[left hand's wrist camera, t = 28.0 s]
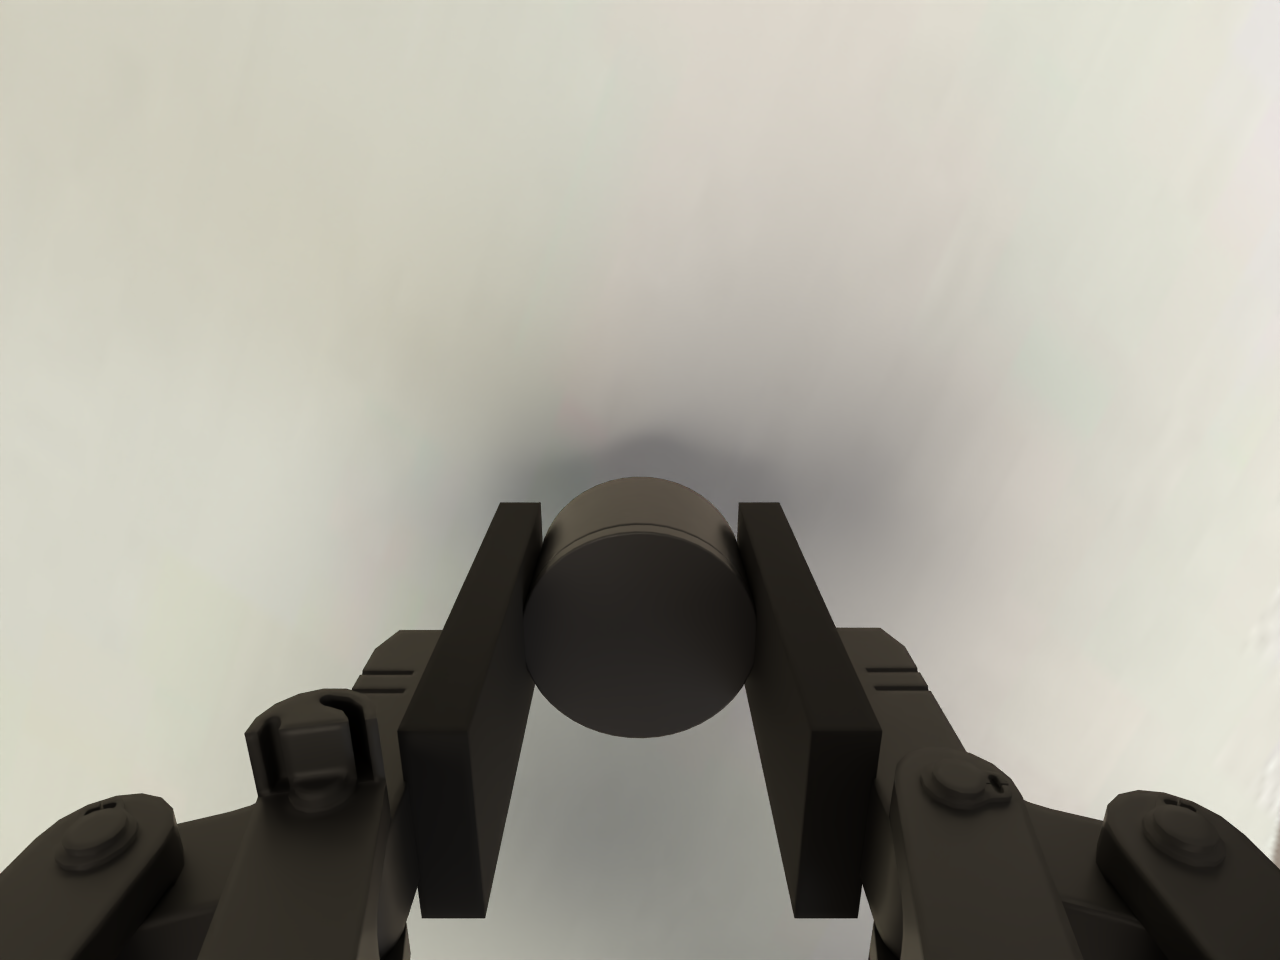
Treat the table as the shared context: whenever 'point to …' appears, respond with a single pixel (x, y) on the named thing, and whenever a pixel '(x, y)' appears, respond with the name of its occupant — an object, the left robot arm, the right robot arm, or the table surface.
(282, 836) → the left robot arm
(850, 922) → the table surface
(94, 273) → the table surface
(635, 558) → the cap
